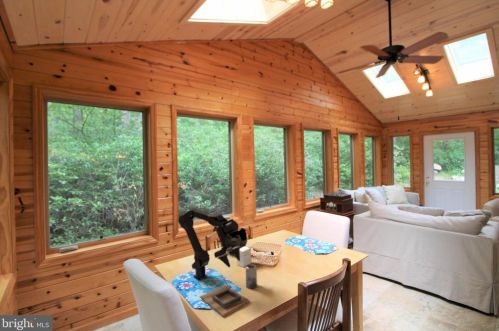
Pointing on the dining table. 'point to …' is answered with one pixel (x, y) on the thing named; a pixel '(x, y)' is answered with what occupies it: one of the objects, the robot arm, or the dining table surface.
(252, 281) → the steel hub
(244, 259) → the small box
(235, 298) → the walnut board
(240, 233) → the coal bowl
